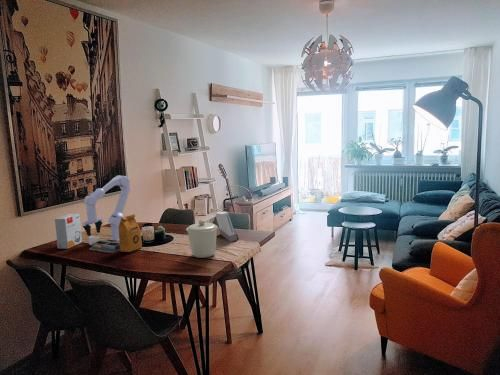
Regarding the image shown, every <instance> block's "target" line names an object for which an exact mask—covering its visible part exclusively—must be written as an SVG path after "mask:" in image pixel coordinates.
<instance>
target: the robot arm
mask: <svg viewBox="0 0 500 375" xmlns="http://www.w3.org/2000/svg"><path fill="white" fill-rule="evenodd" d="M130 182H131V181H130V178H129V177H128V176H126V175H120V174H119V175H115V177H113V178H112V179H111V180H110V181H108V182H107V183H106V184H105V185H104V186H103V187H102V188H101V187H99V188H95V191H93V192H92V193H90V194H89V195H87V196H85V197H84V200H83V202H84V205H85V207H86V210H85V211H86V217H87V220H86V221H84V222H81V223H82V228H83V229H84V230H85V232H86V234H87V235H86V236H88V237H92V234H91V230H92V224H94V225H95V230H96V231H95V232H96V233H97V234H99V233H101V228H102V225H103V218H102V217H99V218H98V217H97V216H98V215H97V208H96V204H97V201H100V199H101V198H103V197H104V196H105V195H106V192H108V191H109V190H110V189H112V188H113V187H115V186H118V187H119V188H120V190H121V191H120V194H119V197H118V200H117V202H116V206H115V208H114V211H113V212H112V213H111V216H110V217H108V223H109V225H110V233H111V238H109V240H110V241H115V242H117V241H119V224H120V220H121V218H123V217H124V214H123V212H124V210H125V206H126V203H127V201H128V197H129V194H130V191H131V185H130ZM109 240H108V241H109Z"/></svg>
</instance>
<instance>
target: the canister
mask: <svg viewBox="0 0 500 375" xmlns="http://www.w3.org/2000/svg"><path fill="white" fill-rule="evenodd" d="M218 229H219V225H217V224H214V223H213V222H206V221H205V220H204V219H200V220H199V221H198V223H193V224H191V225H189V226H188V227H186V229H185V230H186V232H187V235H188V240H189V246H190V250H191V254H192V255H193V256H194V258H200V259H203V258H210V257H212V256H214V254H215V253H216V249H217V234H218V232H217V231H218Z"/></svg>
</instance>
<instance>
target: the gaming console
mask: <svg viewBox="0 0 500 375" xmlns="http://www.w3.org/2000/svg"><path fill="white" fill-rule="evenodd" d="M214 214H215V218H216V222H217V224H218V225H217V226H218V230H219V233H220V235H221V236H223V237H224V238H225V239H226V240H227V241H228V242H229V243H232V242H234V241H237V240H238V239H239V238H240V237H239V235H238V233H237V232H236V230H235V229H234V227H233V224H232V220H231V218H230V214H229V212H228V211H217V212H214Z"/></svg>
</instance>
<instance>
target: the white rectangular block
mask: <svg viewBox="0 0 500 375" xmlns="http://www.w3.org/2000/svg"><path fill="white" fill-rule="evenodd" d="M100 240H101V236H93V235H91V236H88V243H89V245H90V246H92V243H94V242H97V241H100Z"/></svg>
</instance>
